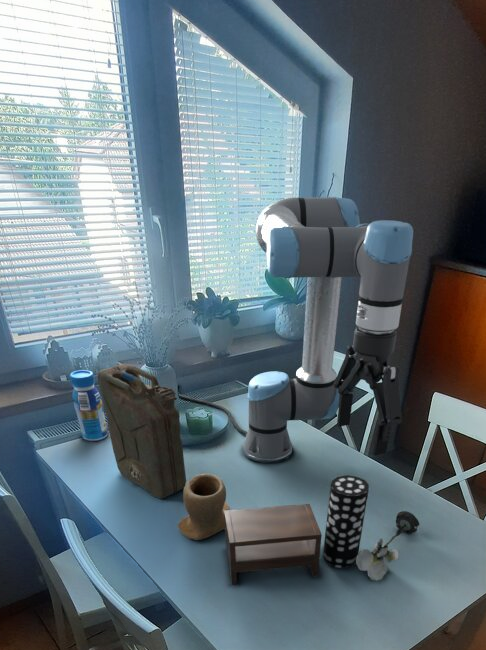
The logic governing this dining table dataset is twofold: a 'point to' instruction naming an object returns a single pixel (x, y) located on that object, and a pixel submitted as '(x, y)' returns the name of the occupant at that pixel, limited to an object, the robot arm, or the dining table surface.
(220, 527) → the stone cup
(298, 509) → the rack
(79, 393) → the beverage bottle
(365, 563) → the artificial flower
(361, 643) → the dining table surface
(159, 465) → the container
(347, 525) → the spotted tube
